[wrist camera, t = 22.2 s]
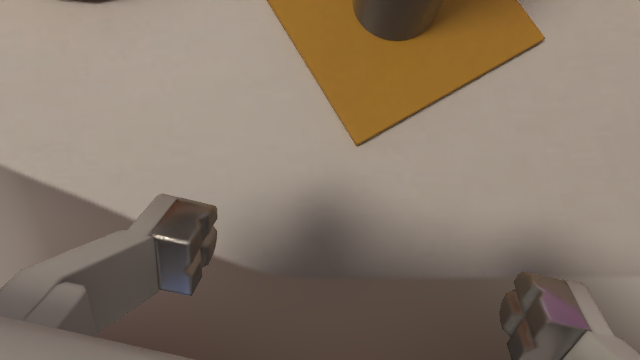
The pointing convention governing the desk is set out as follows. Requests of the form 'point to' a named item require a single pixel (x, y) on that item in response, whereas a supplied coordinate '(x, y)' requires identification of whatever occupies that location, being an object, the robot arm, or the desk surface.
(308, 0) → the napkin
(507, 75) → the desk surface
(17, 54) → the desk surface
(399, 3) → the dark gray cylinder
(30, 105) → the desk surface
